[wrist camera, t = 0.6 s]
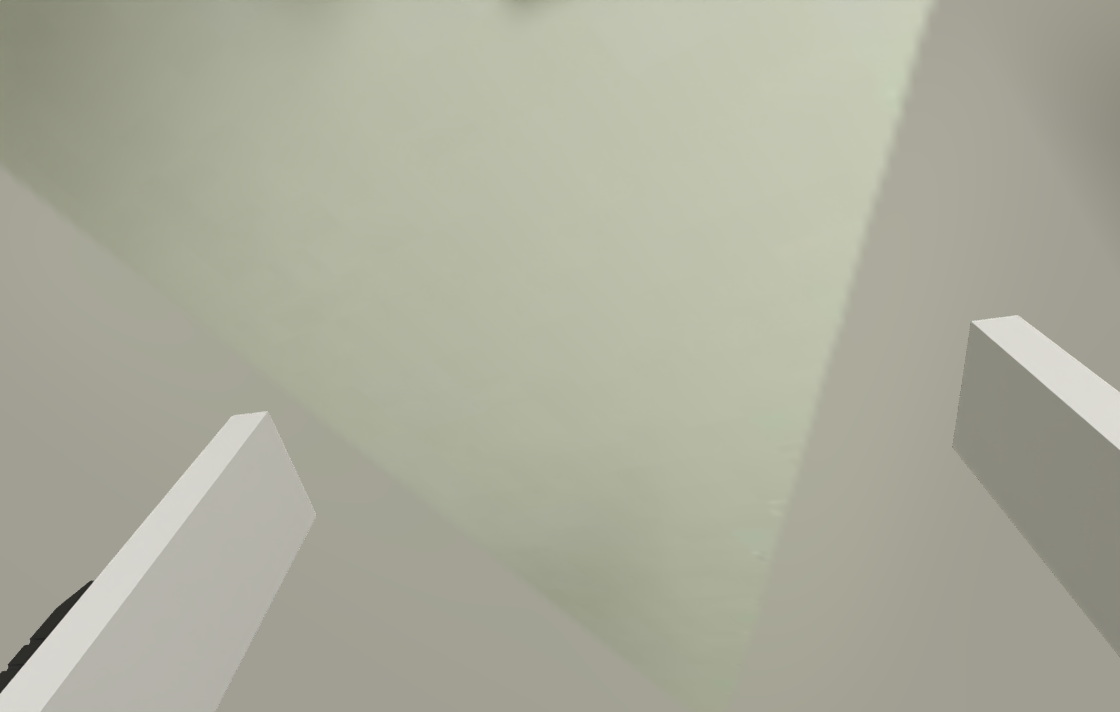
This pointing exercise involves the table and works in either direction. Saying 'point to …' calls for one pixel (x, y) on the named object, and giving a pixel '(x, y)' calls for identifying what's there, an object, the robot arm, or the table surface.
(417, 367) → the table surface
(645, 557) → the table surface
